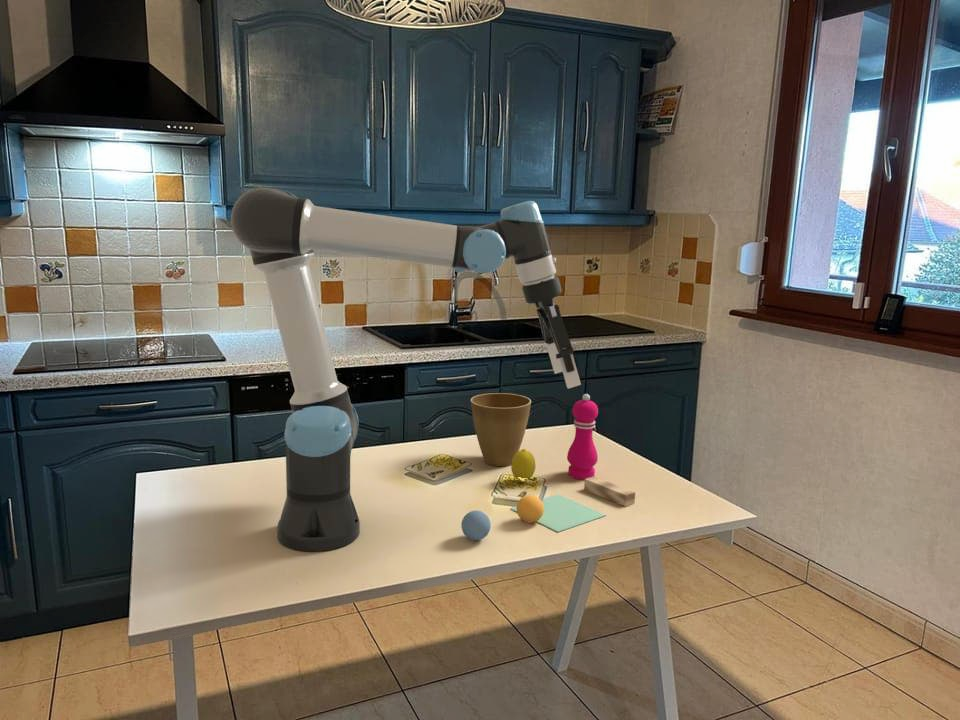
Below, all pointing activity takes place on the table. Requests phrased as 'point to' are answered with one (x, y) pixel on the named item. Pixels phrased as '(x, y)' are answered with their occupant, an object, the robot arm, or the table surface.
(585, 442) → the pepper mill
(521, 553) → the table surface
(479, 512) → the blue ball
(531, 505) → the orange ball
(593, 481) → the bar
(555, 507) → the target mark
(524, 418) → the plant pot
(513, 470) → the lemon
